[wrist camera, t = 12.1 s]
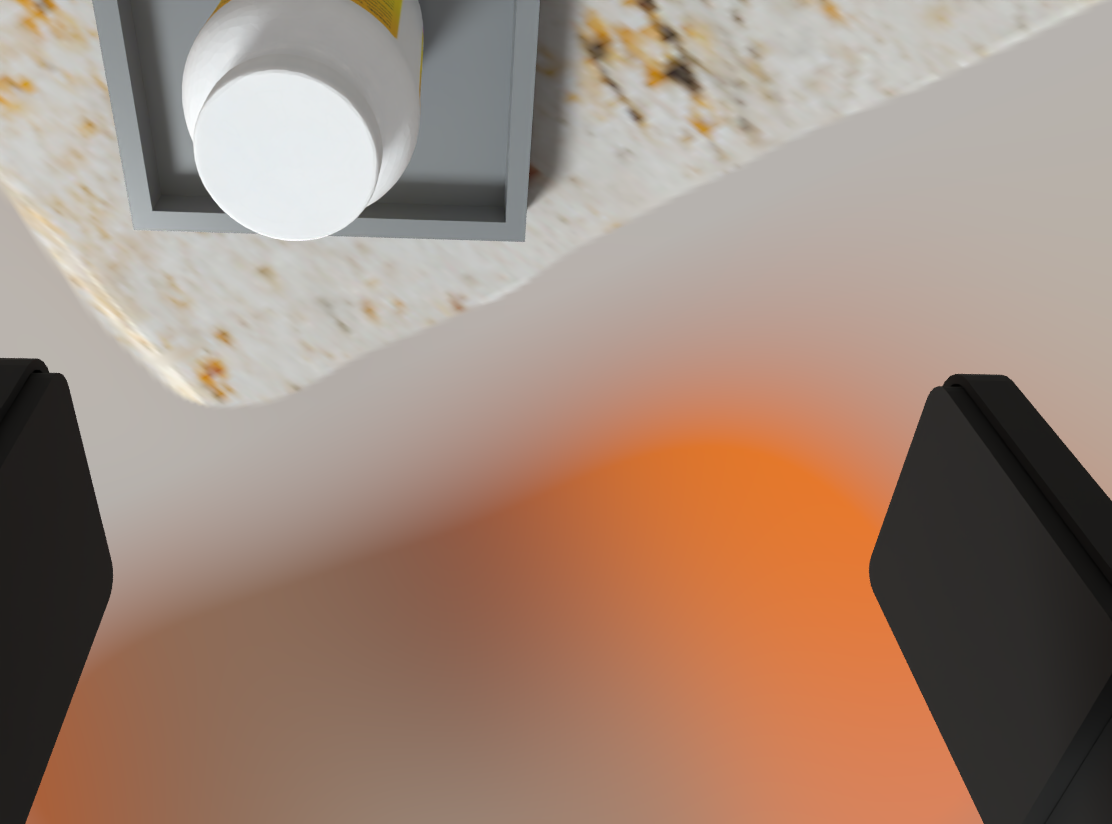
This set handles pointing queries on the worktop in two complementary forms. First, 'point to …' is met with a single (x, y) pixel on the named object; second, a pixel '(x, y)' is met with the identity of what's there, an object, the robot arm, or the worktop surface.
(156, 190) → the charcoal tray
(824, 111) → the worktop surface
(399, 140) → the supplement bottle
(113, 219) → the worktop surface
